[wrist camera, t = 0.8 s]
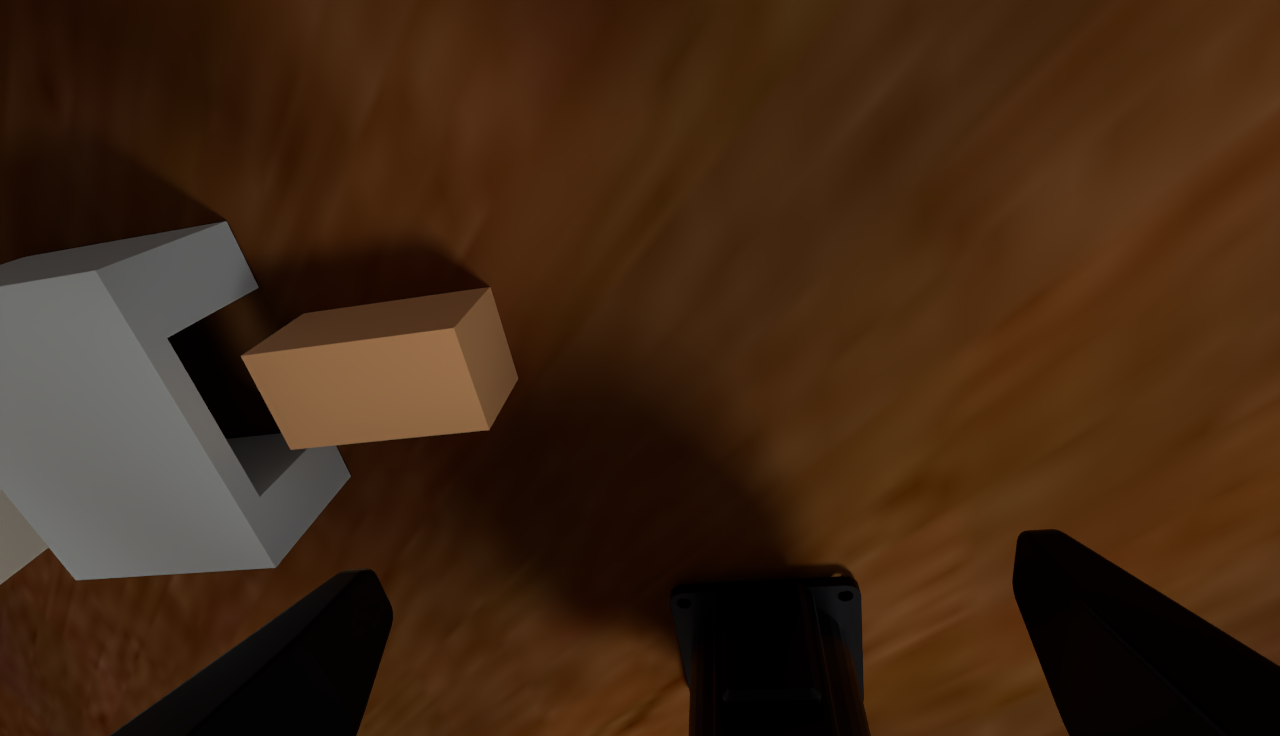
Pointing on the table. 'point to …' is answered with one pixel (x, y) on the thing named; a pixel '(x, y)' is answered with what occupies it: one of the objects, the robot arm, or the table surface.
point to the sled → (139, 415)
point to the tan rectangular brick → (386, 370)
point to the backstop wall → (16, 539)
